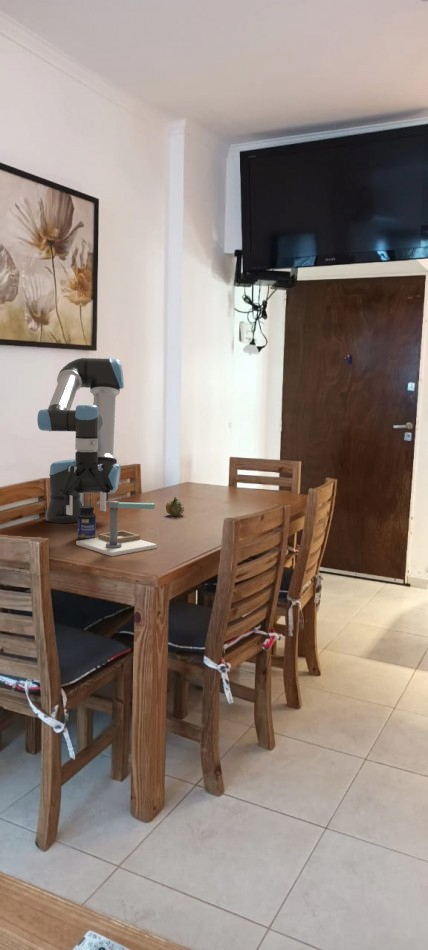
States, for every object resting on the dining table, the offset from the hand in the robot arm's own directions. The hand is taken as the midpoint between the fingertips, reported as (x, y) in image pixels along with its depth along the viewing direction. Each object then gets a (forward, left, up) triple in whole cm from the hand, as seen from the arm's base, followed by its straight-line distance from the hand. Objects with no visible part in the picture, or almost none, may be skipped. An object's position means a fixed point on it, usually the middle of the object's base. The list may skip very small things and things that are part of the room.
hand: (86, 512), depth 241 cm
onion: (-14, +52, -9) cm, 55 cm away
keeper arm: (+24, +1, +5) cm, 24 cm away
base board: (+16, +1, -9) cm, 18 cm away
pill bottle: (0, 0, -9) cm, 9 cm away
